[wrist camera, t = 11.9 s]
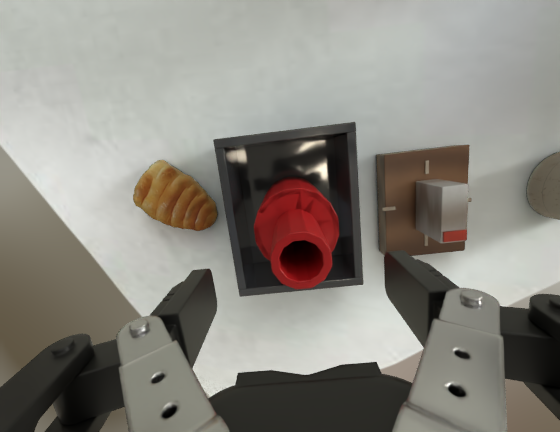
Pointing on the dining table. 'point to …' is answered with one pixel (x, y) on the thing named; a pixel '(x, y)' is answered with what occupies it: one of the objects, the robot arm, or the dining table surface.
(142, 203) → the pastry
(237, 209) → the dark grey storage bin
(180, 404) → the robot arm
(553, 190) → the thermos bottle
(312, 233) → the bottle
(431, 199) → the grey switch handle
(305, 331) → the dining table surface
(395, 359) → the dining table surface
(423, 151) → the brown switch base plate
